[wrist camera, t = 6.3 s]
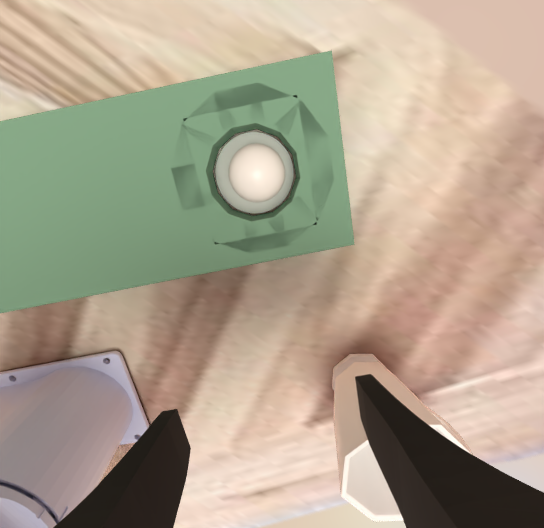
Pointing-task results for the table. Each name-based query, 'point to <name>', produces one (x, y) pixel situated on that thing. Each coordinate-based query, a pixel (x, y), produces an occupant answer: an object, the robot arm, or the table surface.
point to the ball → (256, 172)
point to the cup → (354, 444)
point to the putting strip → (168, 183)
